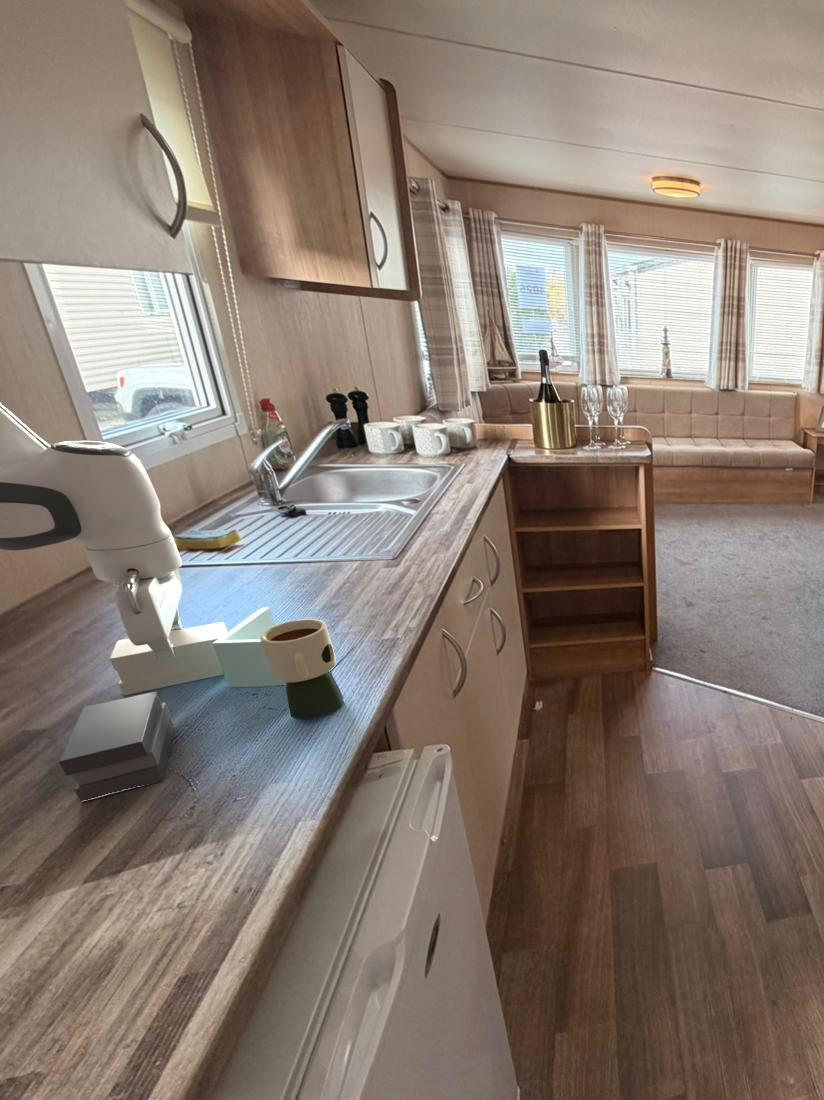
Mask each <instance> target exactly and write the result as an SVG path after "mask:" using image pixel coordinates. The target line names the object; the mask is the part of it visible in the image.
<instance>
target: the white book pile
mask: <svg viewBox="0 0 824 1100" xmlns="http://www.w3.org/2000/svg"><path fill="white" fill-rule="evenodd" d="M116 673H117V675H118V677H119V680H118V683H117V686H118V688H119V689H120V692H121V694H122V695H123V696H128V695H132V694H138V693H143V692H147V691H152V690H156V689H157V690H158V689H162V688H166V687H169V686H170V687H171V686H176V685H180V684H185V683H190V682H195V681H200V680H204V679H209V678H214V677H219V676H223V675H224V673H223V670H222V667H221V665H220V662H219V659H218V657H217V654H216V652H210V653H204V654H199V655H194V656H189V657H184V658H179V659H174V660H170V661H165V662H158V663H153V664H148V665H143V666H138V667H132V668H127V669H122V670H117V671H116Z"/></svg>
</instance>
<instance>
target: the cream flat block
mask: <svg viewBox="0 0 824 1100" xmlns="http://www.w3.org/2000/svg"><path fill="white" fill-rule="evenodd" d="M227 632H229V631H228V629H227V626H226V623H225V621H220V622H214V623H209V624H202V625H197V626H191V627H187V628H182V629H180V630H174V631H170V634H169V637H168V639H169V642H170V644H171V645H173V647H174V650H175V652H176V654H175V658H174V659H179V658H184V657H189V656H194V655H199V654H204V653H210V652H215V649H214V646H213V644H212V643H213V642H215V641H216V640H218V639H219V638H220V637H222V636H223V635H225V634H226V633H227ZM174 659H173V660H174ZM109 661H110V663H111V665H112V667H113V670H114V671H116V672H117V670H122V669H127V668H132V667H138V666H143V665H148V664H153V663H158V662H159V661H158V660H157V657H156V655H155V653H154V652H153V650H152V649H151V648H150V647H149V646H148V645H147V644H146V645H139V646H136V645H134V644H133V643H132V642H131V641H130V640H129V638H124V639H118V640H117V641H116V643H115V646H114V648H113V650H112V652H111V655H110V657H109Z"/></svg>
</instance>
